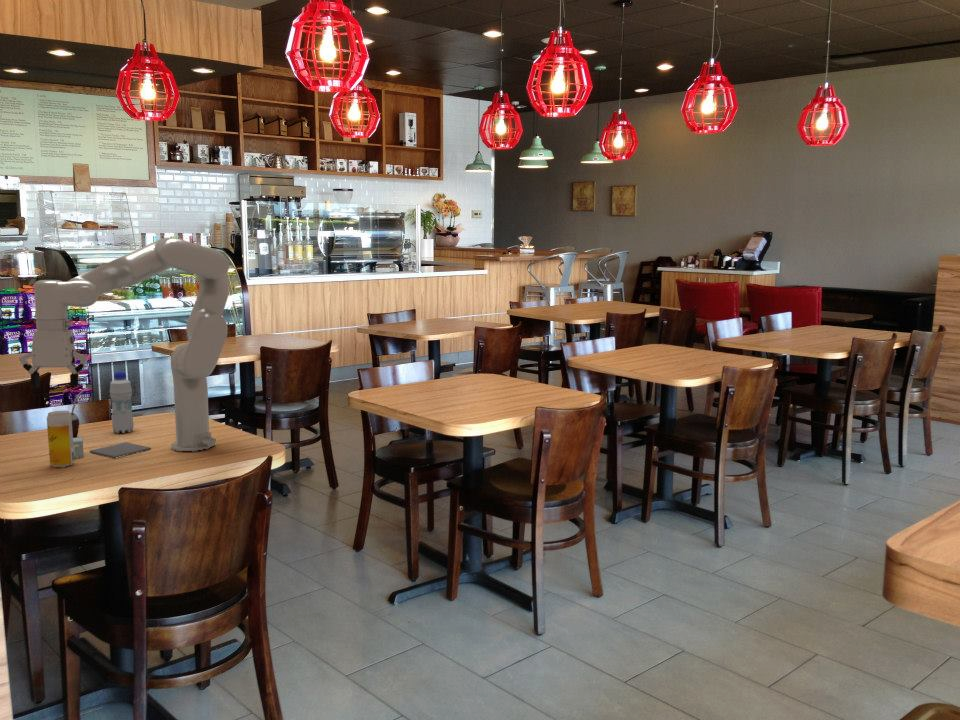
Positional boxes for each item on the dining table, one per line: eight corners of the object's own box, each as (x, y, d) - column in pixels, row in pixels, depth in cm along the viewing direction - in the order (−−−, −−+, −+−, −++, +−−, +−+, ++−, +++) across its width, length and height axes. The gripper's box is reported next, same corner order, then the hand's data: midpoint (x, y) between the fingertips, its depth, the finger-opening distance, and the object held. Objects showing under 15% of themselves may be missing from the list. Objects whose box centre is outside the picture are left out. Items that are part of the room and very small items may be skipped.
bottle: (112, 430, 265) (108, 370, 262) (134, 428, 268) (130, 369, 265) (112, 435, 259) (108, 373, 256) (134, 433, 262) (131, 372, 259)
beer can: (52, 463, 227) (48, 410, 225) (76, 461, 229) (72, 409, 227) (48, 469, 221) (44, 415, 219) (72, 467, 223) (68, 414, 221)
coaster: (150, 449, 242) (150, 447, 242) (114, 458, 232) (114, 456, 232) (126, 443, 248) (125, 442, 248) (89, 452, 238) (89, 450, 238)
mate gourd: (50, 442, 250) (47, 394, 248) (64, 436, 258) (60, 389, 255) (74, 442, 250) (71, 394, 247) (87, 436, 258) (84, 390, 255)
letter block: (64, 455, 235) (63, 438, 234) (83, 453, 237) (82, 437, 237) (64, 459, 231) (63, 442, 230) (83, 457, 233) (82, 441, 232)
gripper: (90, 324, 224) (93, 385, 226) (23, 324, 221) (27, 385, 224) (81, 327, 217) (84, 390, 219) (12, 326, 214) (15, 390, 217)
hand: (55, 387), depth 221 cm, fingers open, 9 cm apart
